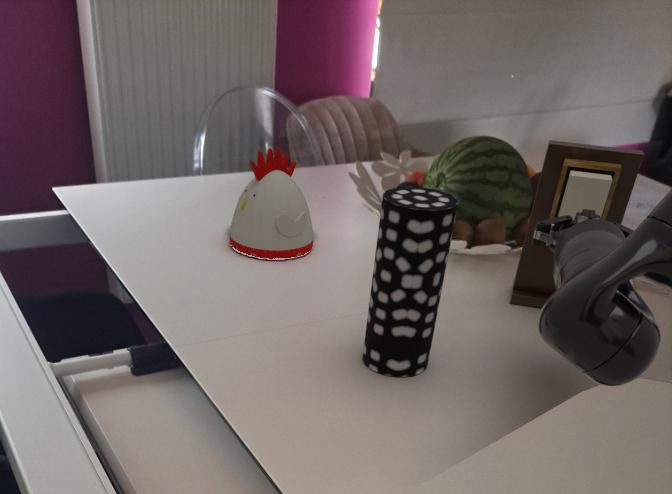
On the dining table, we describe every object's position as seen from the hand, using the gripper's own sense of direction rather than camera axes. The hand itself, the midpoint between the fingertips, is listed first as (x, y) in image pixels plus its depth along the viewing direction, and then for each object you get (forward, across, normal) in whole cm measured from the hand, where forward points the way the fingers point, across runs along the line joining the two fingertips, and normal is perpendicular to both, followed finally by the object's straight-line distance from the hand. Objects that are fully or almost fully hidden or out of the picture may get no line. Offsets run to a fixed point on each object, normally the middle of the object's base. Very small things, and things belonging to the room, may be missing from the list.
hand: (586, 217), depth 91 cm
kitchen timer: (+18, +46, +16) cm, 52 cm away
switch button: (+8, 0, +3) cm, 9 cm away
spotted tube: (-15, +19, +16) cm, 29 cm away
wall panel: (+12, 0, +16) cm, 20 cm away
